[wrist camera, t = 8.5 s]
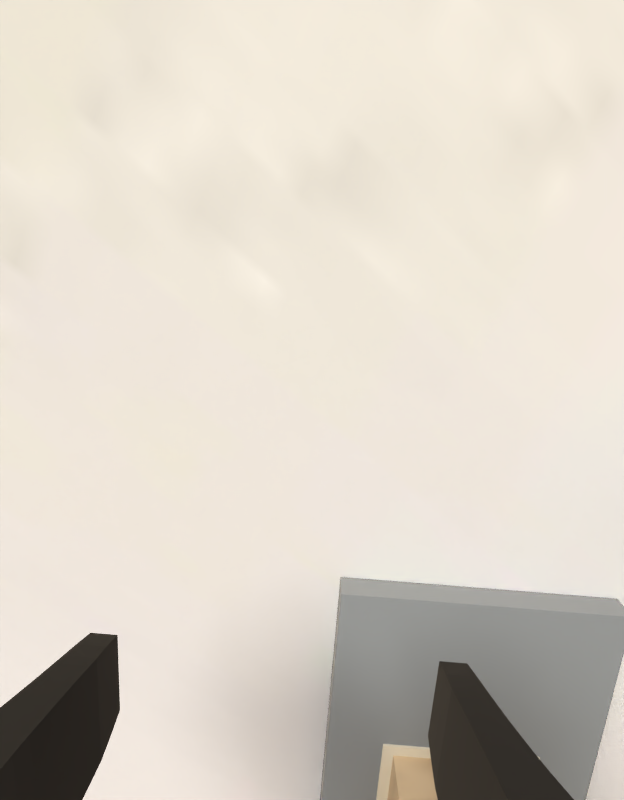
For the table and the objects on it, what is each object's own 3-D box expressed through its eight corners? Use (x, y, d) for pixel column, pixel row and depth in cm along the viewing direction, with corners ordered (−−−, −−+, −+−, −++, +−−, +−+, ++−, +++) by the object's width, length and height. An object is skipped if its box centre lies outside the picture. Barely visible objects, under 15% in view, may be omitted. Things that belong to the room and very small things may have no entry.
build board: (617, 598, 22) (634, 618, 21) (549, 870, 26) (560, 901, 25) (340, 577, 22) (341, 595, 21) (315, 850, 26) (314, 879, 25)
